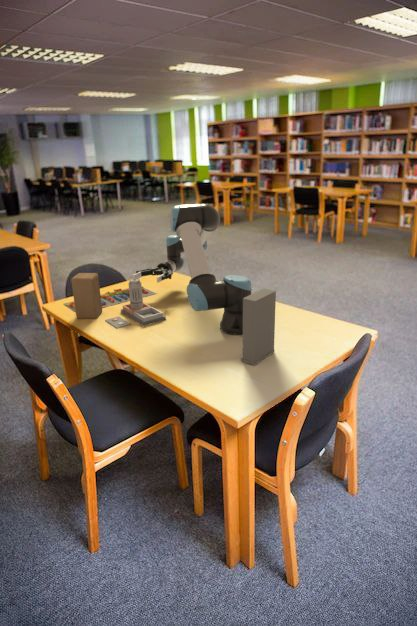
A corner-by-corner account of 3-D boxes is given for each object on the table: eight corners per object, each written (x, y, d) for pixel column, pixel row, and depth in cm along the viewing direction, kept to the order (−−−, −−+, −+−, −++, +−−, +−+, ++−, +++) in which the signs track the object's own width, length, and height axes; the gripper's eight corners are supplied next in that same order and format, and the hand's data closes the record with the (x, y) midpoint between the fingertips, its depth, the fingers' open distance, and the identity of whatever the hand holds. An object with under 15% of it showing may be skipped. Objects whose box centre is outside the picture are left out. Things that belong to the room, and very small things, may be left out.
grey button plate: (130, 324, 199) (130, 323, 199) (116, 328, 195) (116, 327, 195) (119, 317, 208) (118, 315, 208) (105, 320, 204) (105, 319, 204)
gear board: (138, 282, 253) (156, 290, 239) (138, 286, 254) (157, 294, 240) (62, 300, 227) (78, 310, 213) (63, 305, 228) (78, 315, 214)
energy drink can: (131, 312, 209) (128, 282, 204) (130, 308, 215) (128, 278, 210) (143, 311, 210) (141, 281, 205) (143, 307, 216) (140, 277, 211)
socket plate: (165, 319, 204) (165, 312, 203) (142, 325, 197) (142, 318, 196) (142, 306, 221) (142, 300, 219) (121, 312, 214) (120, 305, 213)
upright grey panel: (261, 348, 173) (262, 288, 164) (274, 352, 170) (276, 291, 161) (240, 361, 164) (240, 298, 154) (254, 366, 160) (255, 301, 151)
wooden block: (103, 311, 216) (98, 272, 208) (96, 319, 206) (91, 278, 199) (83, 311, 217) (78, 272, 209) (75, 319, 207) (70, 278, 200)
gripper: (187, 277, 231) (168, 288, 213) (146, 273, 241) (124, 284, 223) (186, 263, 229) (167, 273, 211) (145, 260, 238) (123, 269, 220)
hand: (145, 278), depth 217 cm, fingers open, 13 cm apart
